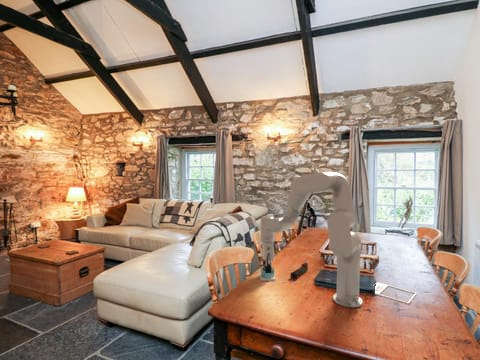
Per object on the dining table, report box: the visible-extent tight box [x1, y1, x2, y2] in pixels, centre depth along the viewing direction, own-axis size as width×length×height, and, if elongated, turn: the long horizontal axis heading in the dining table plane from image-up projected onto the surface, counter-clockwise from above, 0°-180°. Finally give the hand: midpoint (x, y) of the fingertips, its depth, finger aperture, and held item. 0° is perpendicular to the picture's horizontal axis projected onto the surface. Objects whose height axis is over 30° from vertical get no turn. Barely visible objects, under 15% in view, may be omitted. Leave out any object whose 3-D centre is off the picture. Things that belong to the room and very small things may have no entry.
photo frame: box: [374, 281, 418, 305], centre depth 138 cm, size 15×1×18 cm
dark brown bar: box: [289, 262, 309, 280], centre depth 162 cm, size 19×4×5 cm, turn 141°
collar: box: [260, 266, 275, 279], centre depth 156 cm, size 7×7×4 cm
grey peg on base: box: [258, 263, 276, 282], centre depth 156 cm, size 8×8×8 cm
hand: (267, 269), depth 156 cm, fingers open, 9 cm apart
